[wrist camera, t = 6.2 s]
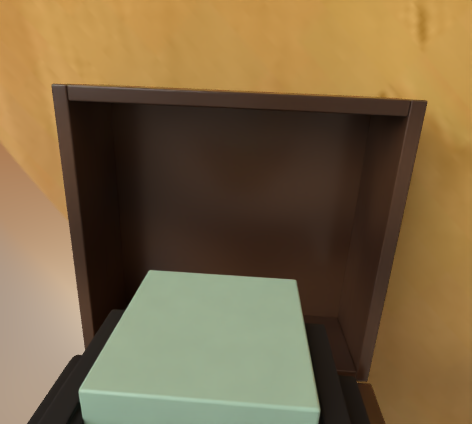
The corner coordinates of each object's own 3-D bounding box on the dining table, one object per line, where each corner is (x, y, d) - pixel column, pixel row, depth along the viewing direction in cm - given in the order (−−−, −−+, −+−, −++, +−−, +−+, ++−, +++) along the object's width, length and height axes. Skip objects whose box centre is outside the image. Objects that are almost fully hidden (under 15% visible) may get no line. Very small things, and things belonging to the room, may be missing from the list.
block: (148, 269, 10) (77, 390, 6) (296, 278, 10) (321, 410, 6) (155, 381, 12) (100, 539, 8) (283, 392, 12) (297, 558, 8)
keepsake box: (102, 84, 21) (50, 83, 15) (382, 97, 20) (428, 100, 15) (120, 305, 26) (86, 362, 21) (343, 320, 25) (367, 382, 20)
